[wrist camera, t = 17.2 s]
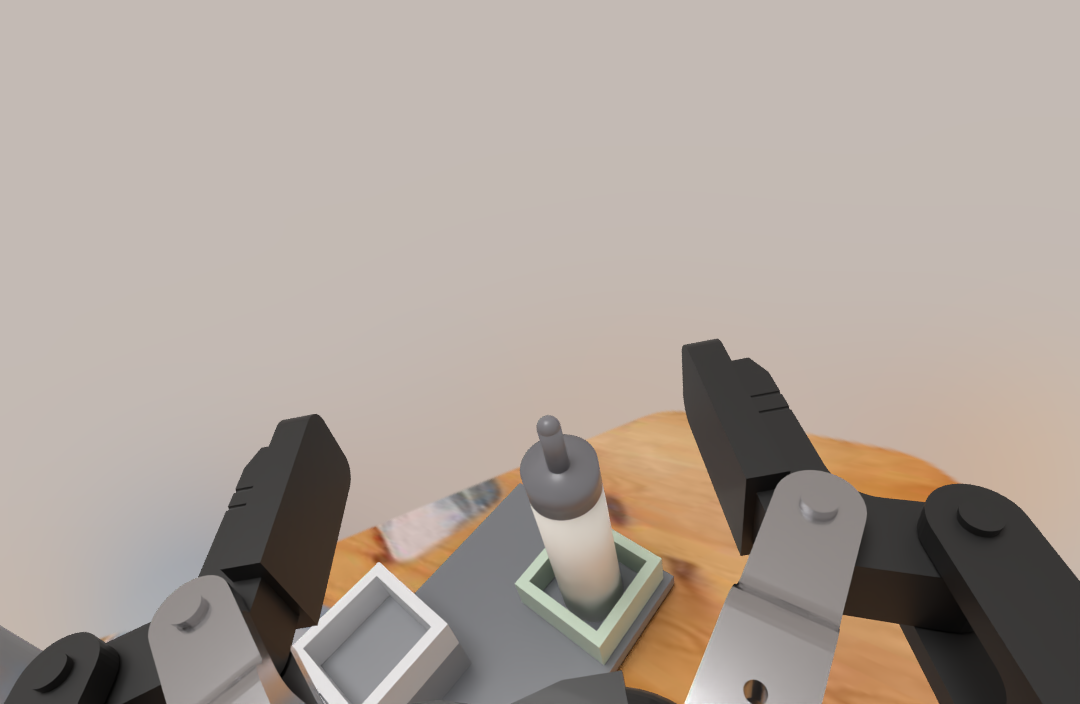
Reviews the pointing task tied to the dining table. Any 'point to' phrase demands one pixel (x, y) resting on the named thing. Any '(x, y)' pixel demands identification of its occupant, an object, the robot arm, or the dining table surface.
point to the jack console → (477, 623)
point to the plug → (573, 520)
